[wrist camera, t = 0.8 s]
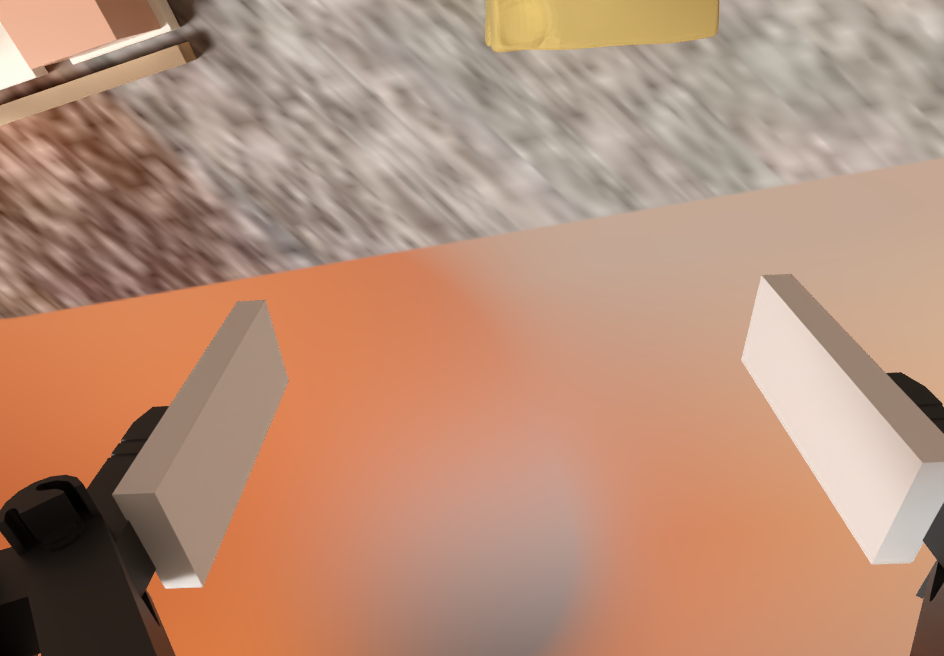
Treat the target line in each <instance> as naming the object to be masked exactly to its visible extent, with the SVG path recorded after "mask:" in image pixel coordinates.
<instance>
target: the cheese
mask: <svg viewBox="0 0 944 656" xmlns="http://www.w3.org/2000/svg"><path fill="white" fill-rule="evenodd" d="M718 23H719V0H486V23H485V41H486V44H487V45H488V46H491V47H492V50H494V51H495V52H509V51H517V50H565V49H581V48H592V47H605V46H620V45H639V44H663V43H674V42H683V41H690V40H696V39H702V38H707V37H712V36H714V35H716V34H717V32H718Z"/></svg>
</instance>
